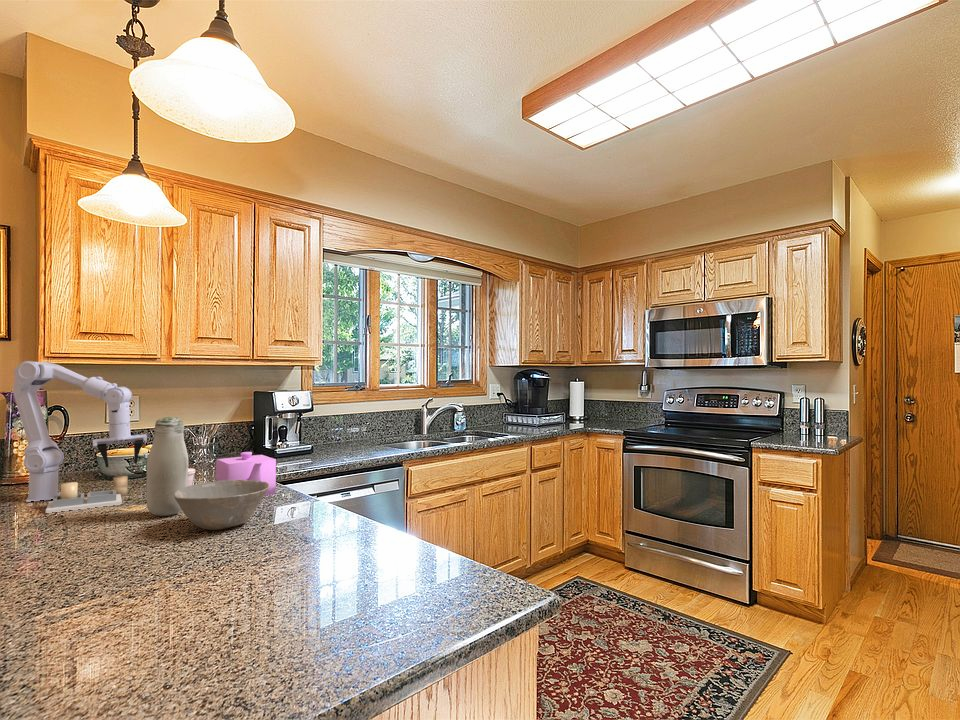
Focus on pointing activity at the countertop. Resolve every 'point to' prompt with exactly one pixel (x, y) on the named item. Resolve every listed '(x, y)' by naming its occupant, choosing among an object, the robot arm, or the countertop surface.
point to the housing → (81, 499)
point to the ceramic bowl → (221, 502)
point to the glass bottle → (166, 467)
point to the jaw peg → (120, 485)
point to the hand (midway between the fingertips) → (121, 465)
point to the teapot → (248, 469)
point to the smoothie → (190, 476)
